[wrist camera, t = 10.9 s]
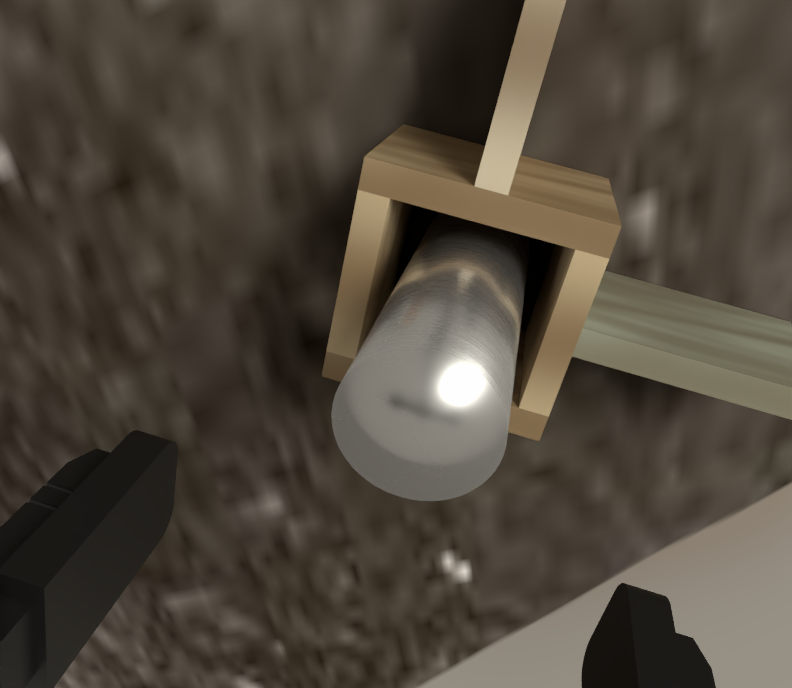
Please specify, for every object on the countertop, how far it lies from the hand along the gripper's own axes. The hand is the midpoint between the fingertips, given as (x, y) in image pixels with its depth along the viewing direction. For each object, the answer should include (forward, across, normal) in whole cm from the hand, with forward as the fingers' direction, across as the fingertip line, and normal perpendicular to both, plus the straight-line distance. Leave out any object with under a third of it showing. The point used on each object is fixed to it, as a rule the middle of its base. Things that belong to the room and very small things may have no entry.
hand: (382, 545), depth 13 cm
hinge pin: (+17, 0, 0) cm, 17 cm away
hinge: (+17, -4, -4) cm, 18 cm away
